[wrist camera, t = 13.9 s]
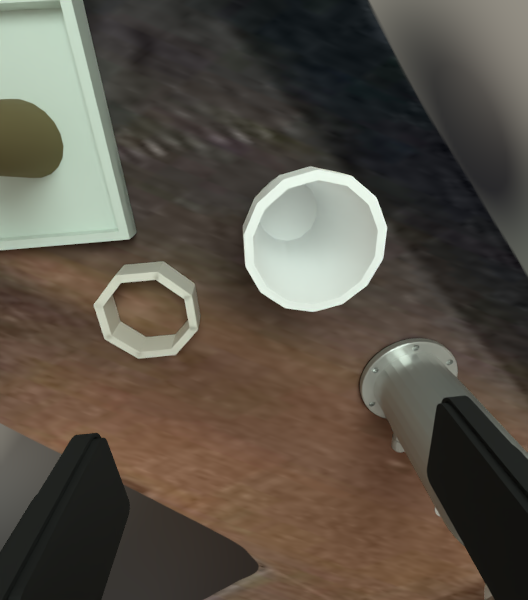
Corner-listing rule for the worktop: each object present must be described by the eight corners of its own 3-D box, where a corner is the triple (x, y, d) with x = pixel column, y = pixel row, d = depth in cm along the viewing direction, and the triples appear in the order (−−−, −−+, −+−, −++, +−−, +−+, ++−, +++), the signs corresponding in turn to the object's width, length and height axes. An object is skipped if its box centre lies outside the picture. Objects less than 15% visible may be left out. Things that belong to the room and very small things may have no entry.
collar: (204, 337, 39) (201, 352, 36) (120, 345, 39) (111, 361, 36) (190, 258, 35) (187, 268, 32) (96, 267, 34) (84, 278, 32)
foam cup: (279, 272, 36) (301, 334, 25) (219, 206, 33) (212, 243, 21) (350, 213, 34) (412, 251, 22) (295, 136, 31) (334, 133, 19)
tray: (136, 232, 33) (129, 239, 31) (-9, 244, 33) (-27, 252, 30) (82, -2, 25) (67, -16, 23) (-112, 8, 25) (-146, -5, 22)
